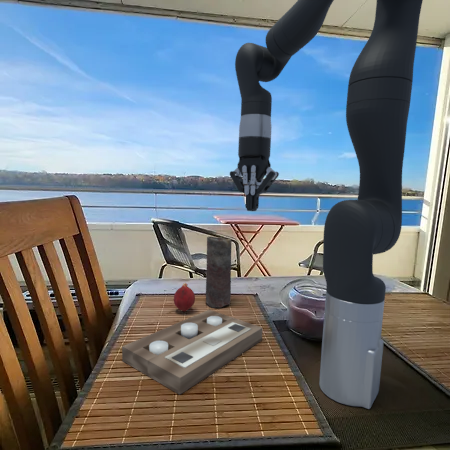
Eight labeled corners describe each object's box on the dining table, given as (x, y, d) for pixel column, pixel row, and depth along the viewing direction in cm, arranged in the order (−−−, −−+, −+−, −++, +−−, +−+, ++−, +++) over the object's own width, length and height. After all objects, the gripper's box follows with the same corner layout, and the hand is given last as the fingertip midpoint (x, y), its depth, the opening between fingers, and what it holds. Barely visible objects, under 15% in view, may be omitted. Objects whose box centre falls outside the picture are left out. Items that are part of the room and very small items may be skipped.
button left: (171, 356, 65) (172, 344, 64) (157, 364, 62) (157, 351, 62) (159, 350, 67) (159, 338, 67) (145, 357, 64) (145, 345, 64)
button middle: (200, 336, 71) (201, 325, 71) (189, 342, 68) (189, 331, 68) (189, 331, 73) (189, 321, 73) (177, 337, 71) (177, 326, 70)
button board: (261, 340, 75) (262, 326, 75) (179, 394, 55) (180, 376, 54) (208, 320, 85) (209, 308, 84) (122, 360, 64) (122, 344, 64)
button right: (224, 328, 78) (225, 318, 78) (215, 333, 75) (215, 323, 75) (213, 324, 80) (213, 314, 80) (203, 329, 77) (203, 319, 77)
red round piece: (190, 316, 87) (191, 287, 86) (170, 314, 88) (170, 285, 87) (197, 309, 92) (197, 281, 91) (177, 306, 94) (178, 279, 93)
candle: (202, 300, 100) (204, 235, 97) (225, 298, 102) (228, 234, 99) (209, 309, 92) (211, 239, 90) (233, 307, 94) (236, 239, 92)
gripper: (287, 137, 76) (283, 212, 78) (241, 140, 84) (238, 208, 86) (271, 132, 70) (267, 213, 72) (222, 136, 78) (220, 209, 80)
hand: (251, 210), depth 79 cm, fingers closed
